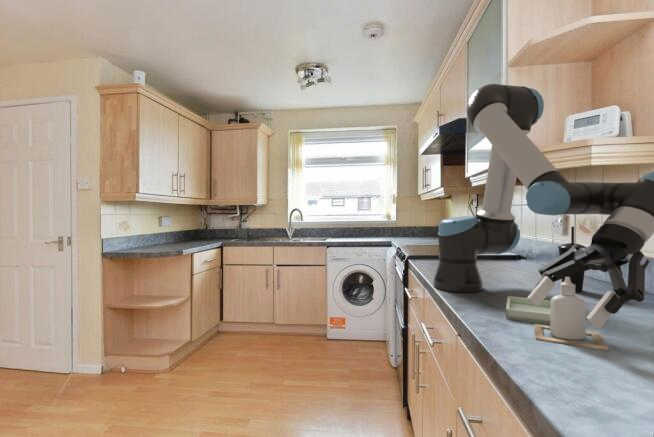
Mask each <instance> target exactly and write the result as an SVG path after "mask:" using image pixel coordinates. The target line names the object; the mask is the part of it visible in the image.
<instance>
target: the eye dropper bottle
mask: <svg viewBox="0 0 654 437" xmlns="http://www.w3.org/2000/svg"><path fill="white" fill-rule="evenodd" d="M559 293H560V294H557V295H554V296H553V297H551V298H550V301H551V305H550V325H549V326H550V329H549V330H550V335H552V336H553V337H555V338H556V339H561V340H567V341H579V340H580V341H581V340H585V339H586V331H587V330H586V326H587V324H586V319H587V318H586V317H587V316H586V309H587V308H586V302H585V300H584V299H583V298H582V297H579V296H576V292H575V285H574V284H572V283H571V280H570V277H565V281H564V282H563V283H562V282H560V284H559Z"/></svg>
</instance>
